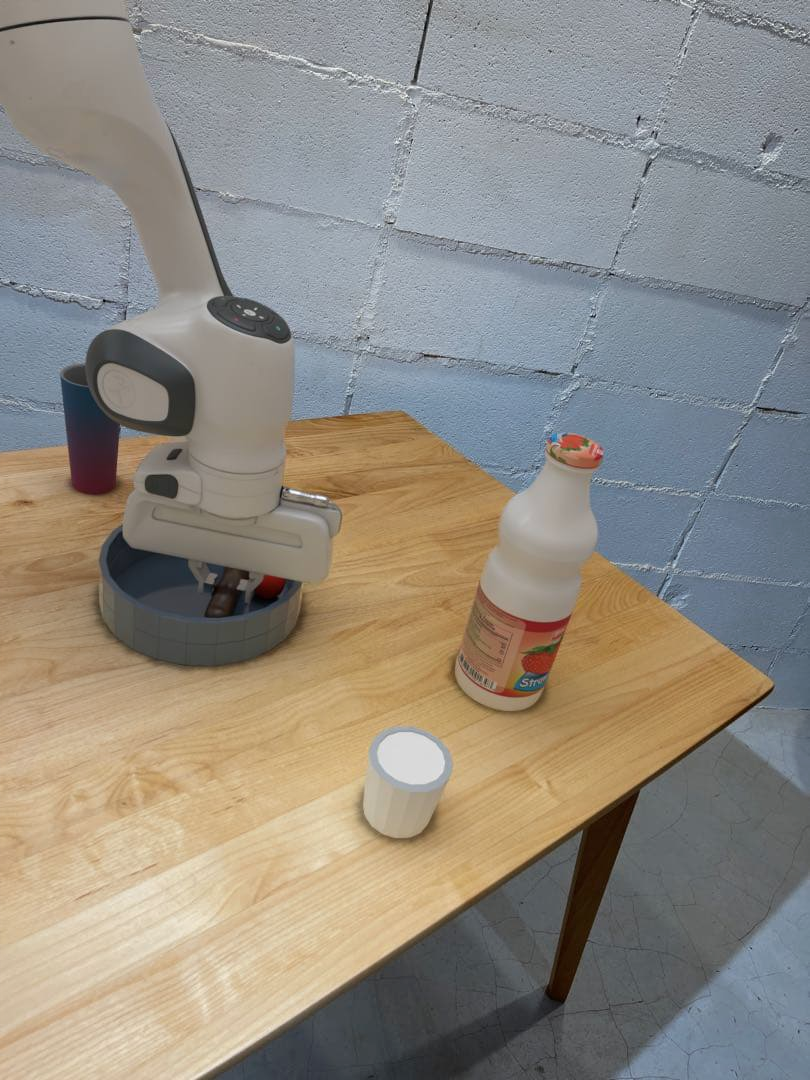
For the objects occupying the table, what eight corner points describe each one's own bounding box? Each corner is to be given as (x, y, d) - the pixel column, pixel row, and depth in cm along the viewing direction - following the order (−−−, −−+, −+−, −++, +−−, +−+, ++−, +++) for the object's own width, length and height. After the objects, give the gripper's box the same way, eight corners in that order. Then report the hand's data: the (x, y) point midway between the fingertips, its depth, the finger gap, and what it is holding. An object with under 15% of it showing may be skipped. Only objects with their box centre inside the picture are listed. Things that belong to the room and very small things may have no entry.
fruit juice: (466, 641, 90) (535, 410, 75) (548, 672, 88) (635, 441, 73) (441, 693, 82) (513, 447, 67) (530, 728, 80) (624, 483, 65)
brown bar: (228, 637, 81) (230, 616, 79) (198, 631, 80) (199, 610, 79) (258, 562, 92) (261, 543, 90) (232, 557, 92) (234, 538, 90)
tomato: (241, 583, 86) (270, 573, 85) (249, 565, 89) (277, 554, 88) (258, 609, 88) (287, 599, 87) (266, 590, 91) (294, 579, 90)
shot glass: (338, 805, 68) (351, 748, 64) (396, 768, 73) (411, 712, 69) (394, 863, 64) (411, 806, 61) (451, 821, 69) (470, 764, 65)
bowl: (65, 646, 78) (63, 596, 74) (141, 534, 95) (142, 490, 92) (276, 688, 78) (283, 640, 75) (313, 570, 95) (320, 527, 92)
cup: (52, 491, 99) (47, 376, 91) (84, 468, 104) (82, 358, 96) (104, 507, 98) (103, 392, 90) (133, 483, 104) (134, 373, 96)
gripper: (349, 484, 79) (330, 597, 86) (140, 441, 78) (139, 558, 86) (340, 517, 73) (320, 634, 81) (115, 471, 73) (116, 593, 80)
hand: (225, 595), depth 83 cm, fingers closed on brown bar, 2 cm apart
